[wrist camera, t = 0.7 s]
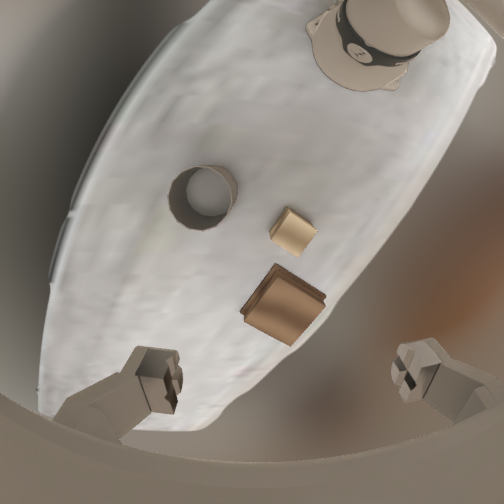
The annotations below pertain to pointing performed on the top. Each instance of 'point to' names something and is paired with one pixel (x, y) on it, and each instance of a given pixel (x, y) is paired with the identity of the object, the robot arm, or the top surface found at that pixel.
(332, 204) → the top surface
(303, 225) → the maple cube
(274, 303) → the walnut pedestal
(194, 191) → the cup
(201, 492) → the robot arm
